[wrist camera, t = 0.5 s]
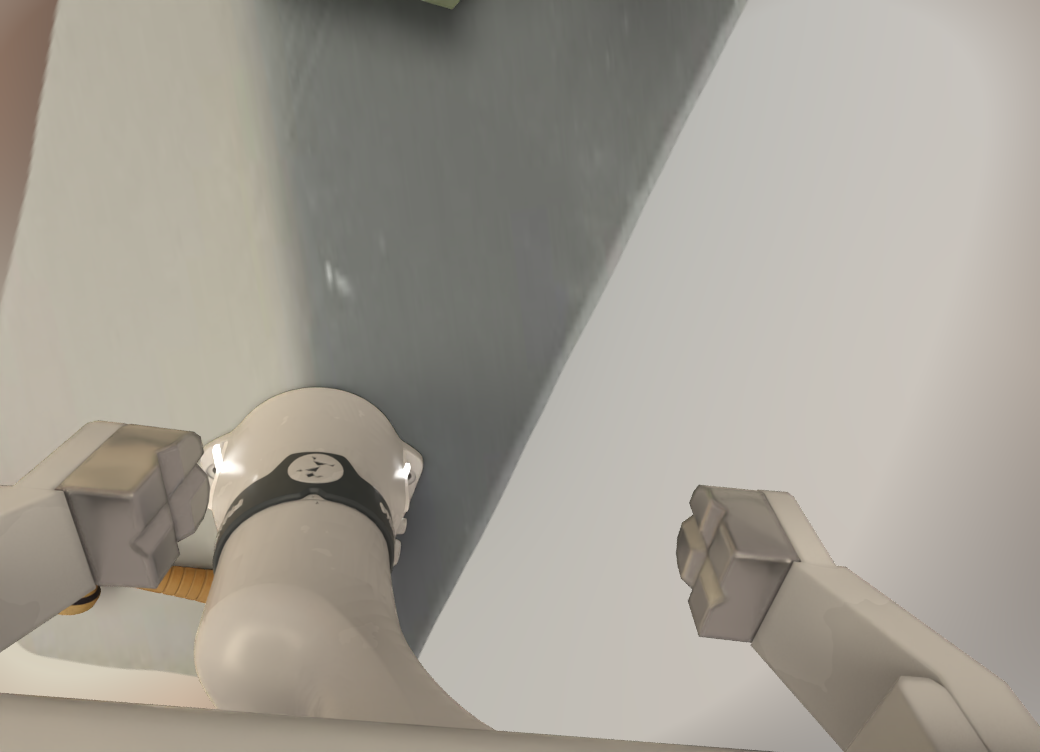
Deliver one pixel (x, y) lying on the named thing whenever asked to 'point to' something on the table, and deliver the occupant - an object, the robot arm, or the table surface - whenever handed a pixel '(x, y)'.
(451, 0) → the bin
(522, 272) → the table surface
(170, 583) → the kendama
